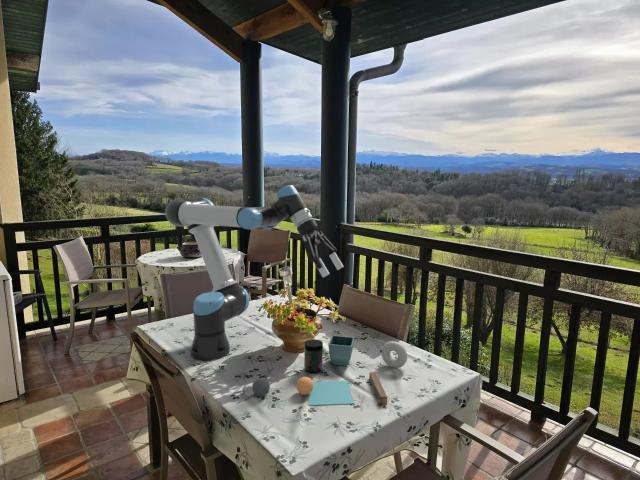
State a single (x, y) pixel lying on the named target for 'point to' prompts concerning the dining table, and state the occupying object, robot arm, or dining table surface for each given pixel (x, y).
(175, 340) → the dining table surface
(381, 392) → the strip
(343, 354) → the flower pot
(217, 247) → the robot arm
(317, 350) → the supplement container
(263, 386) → the dark grey ball
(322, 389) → the teal mark
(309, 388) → the object ball
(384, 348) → the donut
